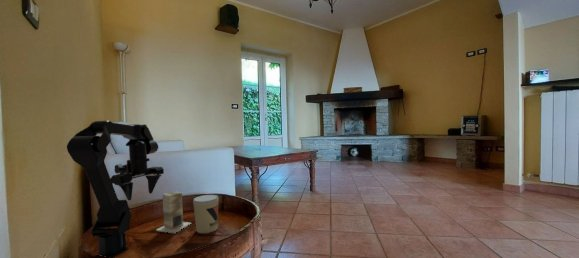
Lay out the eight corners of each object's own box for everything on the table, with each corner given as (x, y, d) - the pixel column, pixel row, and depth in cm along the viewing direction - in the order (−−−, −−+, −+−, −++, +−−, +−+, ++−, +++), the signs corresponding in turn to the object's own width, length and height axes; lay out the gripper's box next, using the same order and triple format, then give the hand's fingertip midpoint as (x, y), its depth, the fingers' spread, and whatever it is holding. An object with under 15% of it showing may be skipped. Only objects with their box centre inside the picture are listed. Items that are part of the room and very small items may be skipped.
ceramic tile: (174, 233, 93) (174, 232, 93) (156, 231, 96) (156, 229, 96) (191, 224, 102) (191, 222, 102) (173, 221, 105) (173, 220, 105)
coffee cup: (212, 234, 91) (211, 201, 91) (189, 233, 93) (187, 201, 92) (224, 224, 100) (222, 194, 100) (202, 223, 102) (201, 194, 102)
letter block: (171, 230, 95) (169, 196, 95) (164, 227, 98) (162, 194, 98) (183, 225, 100) (182, 192, 99) (176, 222, 103) (174, 191, 102)
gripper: (143, 153, 109) (145, 189, 109) (98, 160, 91) (101, 202, 91) (163, 153, 105) (165, 190, 105) (120, 160, 87) (123, 205, 88)
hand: (140, 196), depth 98 cm, fingers open, 9 cm apart
